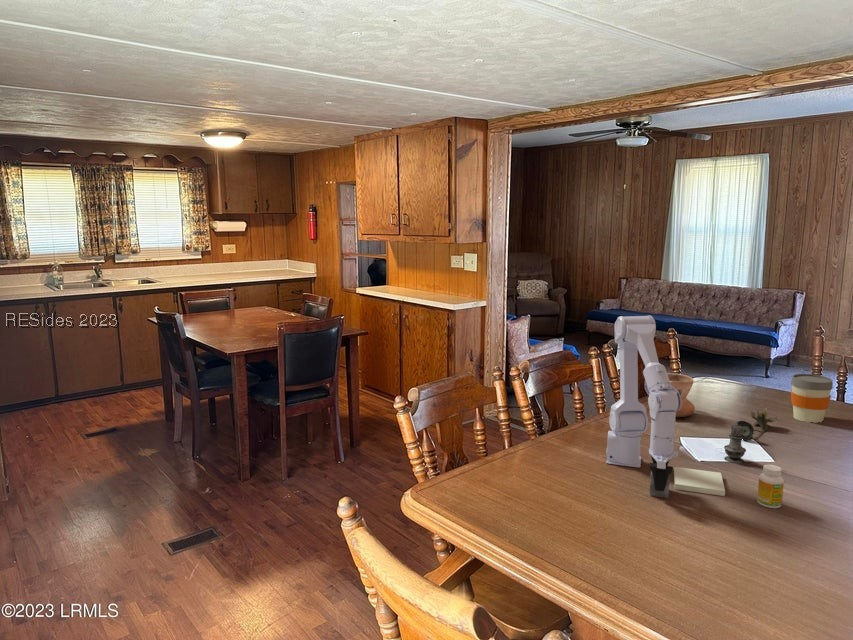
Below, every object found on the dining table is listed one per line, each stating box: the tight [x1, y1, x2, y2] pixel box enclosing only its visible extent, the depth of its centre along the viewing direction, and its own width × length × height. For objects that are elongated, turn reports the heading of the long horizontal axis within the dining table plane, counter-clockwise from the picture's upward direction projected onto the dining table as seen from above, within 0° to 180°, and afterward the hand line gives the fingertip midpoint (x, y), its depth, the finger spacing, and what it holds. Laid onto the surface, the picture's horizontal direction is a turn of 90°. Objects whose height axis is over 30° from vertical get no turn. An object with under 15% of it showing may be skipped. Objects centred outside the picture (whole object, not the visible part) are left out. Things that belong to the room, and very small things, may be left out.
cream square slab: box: [673, 466, 726, 497], centre depth 164 cm, size 12×12×2 cm
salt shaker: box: [723, 421, 747, 464], centre depth 178 cm, size 6×6×12 cm
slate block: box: [649, 471, 671, 499], centre depth 157 cm, size 4×4×6 cm
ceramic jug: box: [667, 372, 696, 418], centre depth 220 cm, size 18×14×14 cm
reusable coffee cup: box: [790, 373, 834, 424], centre depth 214 cm, size 13×13×15 cm
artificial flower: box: [734, 407, 780, 442], centre depth 202 cm, size 9×22×10 cm, turn 126°
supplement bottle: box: [756, 464, 785, 509], centre depth 151 cm, size 5×5×10 cm
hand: (659, 484), depth 157 cm, fingers open, 7 cm apart
